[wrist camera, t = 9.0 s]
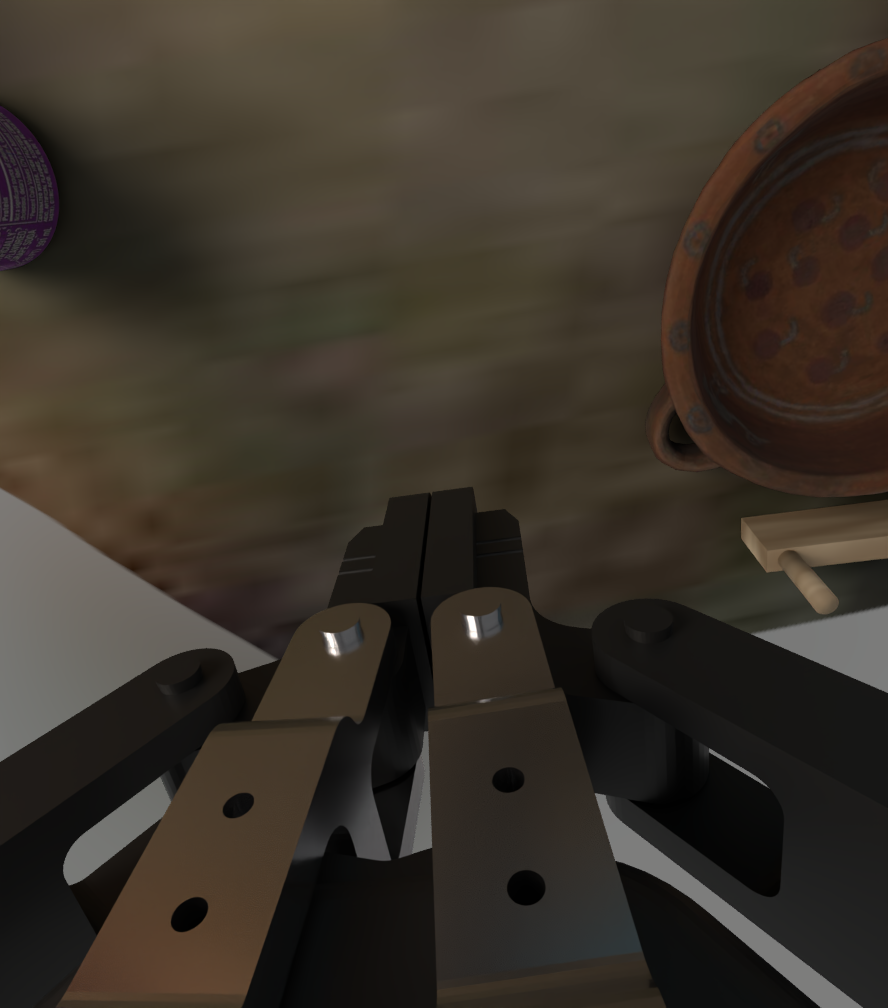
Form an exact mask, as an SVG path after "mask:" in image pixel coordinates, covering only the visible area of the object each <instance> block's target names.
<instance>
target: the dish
mask: <svg viewBox="0 0 888 1008" xmlns="http://www.w3.org/2000/svg"><path fill="white" fill-rule="evenodd" d="M661 349H662V365H663V374H664V378H665V384H664V385H663V387H662V388H661V389H660V391H659V392H658V394H657V395H656V396H655V398H654V400H653V402H652V404H651V406H650V408H649V410H648V413H647V417H646V422H645V428H646V434H647V437H648V440H649V443H650V445H651V448H652V450H653V452H654V454H655V456H656V458H657V459H658V460H660V461H661V462H662V463H664V464H666V465H668V466H670V467H671V468H673V469H675V470H682V471H692V472H699V471H705V470H710V469H715V468H718V467H722V468H724V469H726V470H727V471H729V472H731V473H733V474H735V475H738V476H740V477H742V478H745V479H747V480H749V481H751V482H752V483H754V484H757V485H761V486H764V487H767V488H770V489H773V490H777V491H781V492H786V493H790V494H796V495H804V496H811V497H846V496H859V495H868V494H877V493H883V492H887V491H888V38H887V39H883V40H880V41H877V42H874V43H871V44H869V45H866V46H864V47H861V48H858V49H856V50H853V51H851V52H849V53H848V54H846V55H844V56H842V57H841V58H839V59H838V60H836V61H834V62H833V63H831V64H830V65H828V66H826V67H825V68H823V69H821V70H818V71H817V72H816V73H815V74H813V75H811V76H810V77H808V78H806V79H805V80H803V81H802V82H800V83H799V84H797V85H796V86H795V87H794V88H792V89H791V90H790V91H788V92H787V93H786V94H785V95H783V96H782V97H781V98H780V99H778V100H777V101H776V102H775V103H774V104H772V105H771V106H770V107H769V108H768V109H767V110H766V111H765V112H764V113H763V114H762V115H761V116H760V117H759V118H758V119H757V120H755V121H754V122H753V123H752V124H751V125H750V127H749V128H748V129H747V130H746V131H745V132H744V133H743V134H742V135H741V136H740V138H739V139H738V140H737V141H736V142H735V143H734V144H733V146H732V147H731V148H730V150H729V151H728V152H727V153H726V155H725V157H724V158H723V160H722V161H721V163H720V165H719V166H718V168H717V169H716V170H715V172H714V173H713V174H712V176H711V177H710V179H709V180H708V182H707V183H706V185H705V186H704V187H703V189H702V191H701V193H700V195H699V197H698V199H697V201H696V203H695V205H694V207H693V209H692V211H691V213H690V215H689V217H688V219H687V221H686V224H685V226H684V228H683V230H682V232H681V235H680V238H679V241H678V244H677V246H676V248H675V250H674V253H673V257H672V261H671V265H670V269H669V272H668V276H667V280H666V286H665V291H664V298H663V306H662V322H661ZM676 414H678V416H679V418H680V420H681V422H682V424H683V426H684V428H685V430H686V432H687V433H688V435H689V436H690V438H691V439H692V440H693V441H694V442H695V443H693V444H680V443H674V442H672V441H671V440H670V438H669V426H670V423H671V421H672V419H673V417H674V416H675V415H676Z"/></svg>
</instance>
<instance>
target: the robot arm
mask: <svg viewBox="0 0 888 1008" xmlns="http://www.w3.org/2000/svg"><path fill="white" fill-rule="evenodd" d="M343 559H344V562H342V565H341V568H340V571H339V575H338V577H337V580H336V583H335V586H334V589H333V592H332V596H331V599H330V602H329V605H328V608H327V609H326V610H324V611H321V612H319V613H317V614H315V615H314V616H312V617H311V618H309V619H308V620H306V621H305V622H304V623H303V624H302V625H301V626H300V627H299V628H298V629H297V631H296V632H295V634H294V636H293V638H292V640H291V642H290V644H289V646H288V648H287V650H286V652H285V654H284V656H283V658H282V659H280V660H277V661H275V662H272V663H269V664H266V665H262V666H260V667H256V668H253V669H251V670H247V671H244V672H241V673H238V672H237V670H236V667H235V664H234V661H233V659H232V657H231V656H230V655H229V654H228V653H226V652H224V651H222V650H218V649H207V648H206V649H196V650H191V651H186V652H183V653H180V654H177V655H174V656H172V657H170V658H168V659H165V660H163V661H161V662H160V663H158V664H156V665H155V666H153V667H151V668H150V669H148V670H147V671H145V672H143V673H142V674H141V675H138V676H137V677H135V678H134V679H132V680H130V681H129V682H127V683H126V684H124V685H123V686H121V687H119V688H118V689H116V690H115V691H113V692H111V693H110V694H108V695H107V696H105V697H103V698H102V699H100V700H99V701H97V702H95V703H94V704H92V705H91V706H89V707H87V708H86V709H84V710H83V711H81V712H80V713H78V714H76V715H75V716H73V717H71V718H70V719H68V720H67V721H65V722H63V723H62V724H60V725H59V726H57V727H55V728H54V729H52V730H51V731H49V732H48V733H46V734H44V735H43V736H41V737H39V738H38V739H36V740H35V741H33V742H31V743H30V744H28V745H27V746H25V747H23V748H22V749H20V750H19V751H17V752H16V753H14V754H12V755H11V756H9V757H7V758H6V759H4V760H3V761H1V762H0V1008H820V1007H819V1006H818V1005H817V1004H816V1003H815V1002H813V1001H812V1000H811V999H810V998H809V997H807V996H806V995H805V994H804V993H803V992H802V991H800V990H799V989H798V988H797V987H796V986H795V985H793V984H792V983H791V982H790V981H789V980H787V979H786V978H785V977H784V976H783V975H782V974H780V973H779V972H778V971H777V970H776V969H774V968H773V967H772V966H771V965H770V964H769V963H767V962H766V961H765V960H764V959H763V958H762V957H760V956H759V955H758V954H757V953H755V952H754V951H753V950H752V949H751V948H750V947H749V946H747V945H746V944H745V943H744V942H743V941H742V940H740V939H739V938H738V937H737V936H736V935H734V934H733V933H732V932H731V931H730V930H729V929H727V928H726V927H725V926H724V925H722V924H721V923H720V922H719V921H718V920H717V919H716V918H714V917H713V916H712V915H711V914H710V913H708V912H707V911H706V910H705V909H703V908H702V907H701V906H700V905H698V904H697V903H696V902H695V901H693V900H692V899H691V898H689V897H688V896H686V895H685V894H683V893H682V892H680V891H679V890H677V889H676V888H674V887H673V886H671V885H670V884H668V883H666V882H664V881H662V880H660V879H658V878H657V877H655V876H653V875H651V874H649V873H647V872H645V871H642V870H640V869H637V868H635V867H632V866H629V865H626V864H624V863H621V862H617V861H615V859H614V856H613V852H612V849H611V846H610V842H609V839H608V836H607V832H606V829H605V826H604V823H603V819H602V816H601V813H600V810H599V806H598V803H597V800H596V796H595V793H598V794H604V795H606V799H607V802H608V805H609V807H610V809H611V810H612V812H613V813H614V814H615V816H616V817H617V818H619V819H620V820H621V821H622V822H623V823H624V824H625V825H627V826H628V827H629V828H631V829H632V830H633V831H635V832H636V833H637V834H639V835H640V836H641V837H642V838H644V839H645V840H646V841H648V842H649V843H650V844H651V845H653V846H654V847H655V848H657V849H658V850H659V851H661V852H662V853H663V854H664V855H666V856H667V857H668V858H670V859H671V860H672V861H673V862H675V863H676V864H677V865H679V866H680V867H681V868H683V869H684V870H685V871H687V872H688V873H689V874H690V875H692V876H693V877H694V878H696V879H697V880H699V881H700V882H701V883H702V884H703V885H705V886H706V887H707V888H709V889H710V890H711V891H712V892H714V893H715V894H716V895H718V896H719V897H720V898H722V899H723V900H724V901H725V902H727V903H728V904H729V905H731V906H732V907H733V908H734V909H736V910H737V911H738V912H740V913H741V914H742V915H744V916H745V917H746V918H747V919H749V920H750V921H751V922H753V923H754V924H755V925H757V926H758V927H759V928H760V929H762V930H763V931H764V932H766V933H767V934H768V935H770V936H771V937H772V938H774V939H775V940H776V941H777V942H779V943H780V944H781V945H783V946H784V947H785V948H786V949H788V950H789V951H790V952H792V953H793V954H794V955H795V956H797V957H798V958H799V959H801V960H802V961H803V962H805V963H806V964H807V965H809V966H810V967H811V968H812V969H814V970H815V971H816V972H818V973H819V974H820V975H822V976H823V977H824V978H825V979H827V980H828V981H829V982H831V983H832V984H833V985H834V986H836V987H837V988H839V989H840V990H841V991H842V992H844V993H845V994H846V995H847V996H849V997H850V998H851V999H853V1000H854V1001H855V1002H857V1003H858V1004H859V1005H861V1006H862V1007H863V1008H888V693H886V692H884V691H882V690H879V689H877V688H875V687H872V686H870V685H868V684H865V683H863V682H861V681H858V680H856V679H854V678H851V677H849V676H847V675H844V674H842V673H840V672H837V671H835V670H833V669H830V668H828V667H826V666H824V665H821V664H819V663H817V662H814V661H812V660H809V659H807V658H805V657H803V656H800V655H798V654H796V653H793V652H791V651H789V650H786V649H784V648H782V647H779V646H777V645H775V644H772V643H770V642H768V641H765V640H763V639H761V638H758V637H756V636H754V635H751V634H749V633H747V632H744V631H742V630H740V629H737V628H735V627H733V626H730V625H728V624H726V623H724V622H721V621H719V620H717V619H714V618H712V617H710V616H707V615H705V614H703V613H700V612H698V611H696V610H693V609H691V608H689V607H686V606H684V605H681V604H678V603H676V602H671V601H667V600H661V599H635V600H629V601H625V602H621V603H618V604H615V605H613V606H611V607H609V608H607V609H605V610H604V611H603V612H602V613H600V614H599V615H598V616H597V618H596V619H595V621H594V622H593V625H592V629H587V628H577V627H570V626H565V625H561V624H558V623H555V622H552V621H550V620H548V619H546V618H544V617H543V616H542V615H540V614H539V613H538V612H537V611H536V610H535V609H534V607H533V606H532V604H531V601H530V596H529V589H528V582H527V575H526V568H525V562H524V555H523V548H522V541H521V534H520V528H519V521H518V520H517V519H516V518H515V517H513V516H512V515H511V514H510V513H509V512H507V511H506V510H505V509H502V510H495V511H487V512H479V513H477V508H476V502H475V496H474V491H473V487H467V488H459V489H452V490H444V491H437V492H433V493H432V496H431V494H430V493H423V494H415V495H408V496H400V497H393V498H390V499H389V502H388V506H387V511H386V515H385V519H384V523H383V525H381V526H373V527H365V528H363V529H362V530H361V531H360V532H359V533H358V534H357V535H356V536H355V537H354V538H353V539H352V540H351V541H350V542H349V543H348V546H347V549H346V552H345V555H344V558H343ZM424 731H428V733H429V734H428V735H429V762H430V763H429V764H430V795H431V823H432V824H431V825H432V848H430V849H427V850H423V851H420V852H417V853H414V854H412V850H413V843H414V838H415V831H416V825H417V819H418V813H419V807H420V801H421V795H422V789H423V783H424V776H425V770H424V764H423V759H422V756H421V752H422V747H423V737H424ZM709 748H710V749H712V750H713V751H715V752H717V753H718V754H720V755H722V756H723V757H725V758H727V759H728V760H730V761H732V762H733V763H735V764H737V765H739V766H740V767H742V768H744V769H745V770H747V771H749V772H750V773H752V774H753V775H755V776H756V777H758V778H759V779H760V780H762V781H763V782H764V783H765V784H766V785H767V786H768V787H769V788H770V789H769V788H768V787H766V786H764V785H763V784H761V783H759V782H757V781H756V780H754V779H753V778H751V777H749V776H748V775H746V774H744V773H743V772H741V771H739V770H737V769H736V768H734V767H733V766H731V765H729V764H727V763H726V762H724V761H722V760H721V759H719V758H717V757H716V756H714V755H713V754H711V753H709ZM159 777H161V779H162V782H163V784H164V786H165V788H166V791H167V793H168V795H169V798H170V799H171V804H170V806H169V807H168V809H167V811H166V813H165V814H164V816H163V817H162V818H161V819H160V820H159V821H157V822H156V823H155V824H153V825H152V826H151V827H150V828H148V829H147V830H146V831H145V832H143V833H142V834H141V835H139V836H138V837H137V838H136V839H134V840H133V841H132V842H131V843H129V844H128V845H127V846H126V847H124V848H123V849H122V850H120V851H119V852H118V853H117V854H115V856H113V857H112V858H110V859H109V860H108V861H107V862H105V863H104V864H103V865H101V866H100V867H99V868H98V869H96V870H95V871H94V872H93V873H91V874H90V875H89V876H88V877H86V878H85V879H83V880H82V881H80V882H78V883H75V884H73V885H68V884H67V882H66V880H65V878H64V874H63V864H64V860H65V858H66V855H67V853H68V851H69V849H70V848H71V846H72V845H73V844H74V842H75V841H76V840H77V839H78V838H79V837H80V836H81V835H82V834H84V833H85V832H86V831H88V830H89V829H90V828H92V827H93V826H94V825H96V824H97V823H98V822H100V821H101V820H102V819H104V818H105V817H106V816H108V815H109V814H110V813H112V812H113V811H114V810H116V809H117V808H118V807H120V806H121V805H122V804H124V803H125V802H126V801H128V800H129V799H131V798H132V797H133V796H135V795H136V794H137V793H139V792H140V791H141V790H142V789H144V788H145V787H147V786H148V785H149V784H151V783H152V782H153V781H155V780H156V779H157V778H159Z"/></svg>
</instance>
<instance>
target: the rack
mask: <svg viewBox="0 0 888 1008" xmlns="http://www.w3.org/2000/svg"><path fill="white" fill-rule="evenodd" d="M741 539H742V540H743V541H744V543H745V544H746V545H747V547H748V548H749V549H750V551H751V552H752V553H753V555H754V556H755V557H756V559H757V560H758V561H759V562H760V564H761V565H762V566H763V568H764V569H765V570H766V572H774V571H782V570H784V571H785V573H786V574H787V575H788V576H789V578H790V579H791V580H792V581H793V583H794V584H795V585H796V586H797V588H798V589H799V590H800V591H801V593H802V594H803V595H804V596H805V598H806V599H807V600H808V601H809V603H810V604H811V605H812V606H813V608H814V609H815V610H816V611H817V612H818V613H820V614H829V613H832V612H833V611H835V610H836V608H837V607H838V605H839V600H838V598H837V597H836V596H835V595H834V594H833V593H832V591H831V590H830V589H829V588H828V587H827V586H826V585H825V583H824V582H823V581H822V580H821V579H820V578H819V577H818V575H817V574H816V573H815V572H814V571H813V570H812V569H811V567H816V566H824V565H833V564H841V563H850V562H858V561H867V560H875V559H884V558H888V500H881V501H873V502H865V503H857V504H849V505H841V506H833V507H825V508H817V509H809V510H801V511H793V512H785V513H777V514H769V515H761V516H753V517H746V518H741Z"/></svg>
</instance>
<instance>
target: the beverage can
mask: <svg viewBox="0 0 888 1008" xmlns="http://www.w3.org/2000/svg"><path fill="white" fill-rule="evenodd" d="M58 215H59V195H58V188H57V183H56V179H55V175H54V172H53V169H52V167H51V164H50V162H49V160H48V158H47V156H46V154H45V152H44V150H43V149H42V147H41V145H40V144H39V142H38V141H37V139H36V138H35V137H34V135H33V134H32V133H31V132H30V130H29V129H28V128H27V127H26V126H25V125H24V124H23V123H22V122H21V121H20V120H19V119H18V118H17V117H15V116H14V115H13V114H12V113H10V112H9V111H8V110H6V109H5V108H3V107H2V106H0V271H3V270H8V269H13V268H17V267H20V266H23V265H25V264H27V263H29V262H31V261H32V260H34V259H35V258H36V257H38V256H39V255H40V254H41V253H42V252H43V251H44V249H45V248H46V247H47V246H48V244H49V242H50V241H51V239H52V237H53V234H54V232H55V229H56V226H57V221H58Z"/></svg>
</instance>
